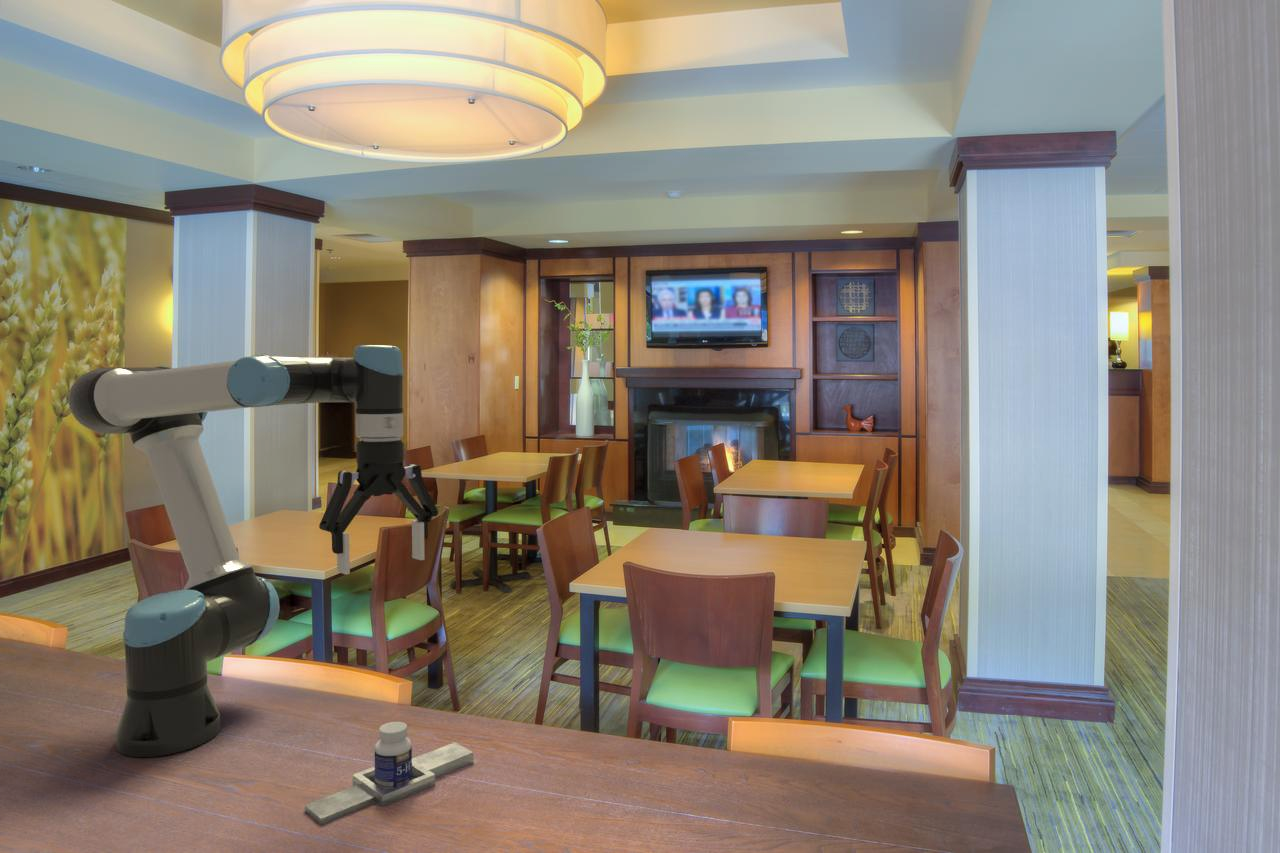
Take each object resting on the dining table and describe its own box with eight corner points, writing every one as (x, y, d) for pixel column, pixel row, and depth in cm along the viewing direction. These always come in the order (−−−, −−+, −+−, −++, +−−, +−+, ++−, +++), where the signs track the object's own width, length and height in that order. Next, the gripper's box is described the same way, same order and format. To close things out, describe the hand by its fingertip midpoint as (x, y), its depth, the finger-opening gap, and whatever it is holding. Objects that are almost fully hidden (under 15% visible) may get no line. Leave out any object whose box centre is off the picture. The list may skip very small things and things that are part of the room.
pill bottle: (401, 796, 118) (400, 736, 118) (368, 792, 119) (367, 733, 119) (418, 778, 124) (417, 721, 123) (386, 775, 125) (385, 718, 124)
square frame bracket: (327, 829, 110) (326, 818, 110) (299, 805, 116) (298, 794, 116) (480, 766, 128) (479, 756, 127) (449, 748, 133) (448, 738, 133)
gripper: (316, 445, 124) (319, 583, 125) (457, 436, 142) (458, 556, 143) (295, 442, 129) (298, 574, 131) (433, 433, 147) (435, 550, 149)
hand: (382, 565), depth 137 cm, fingers open, 13 cm apart
